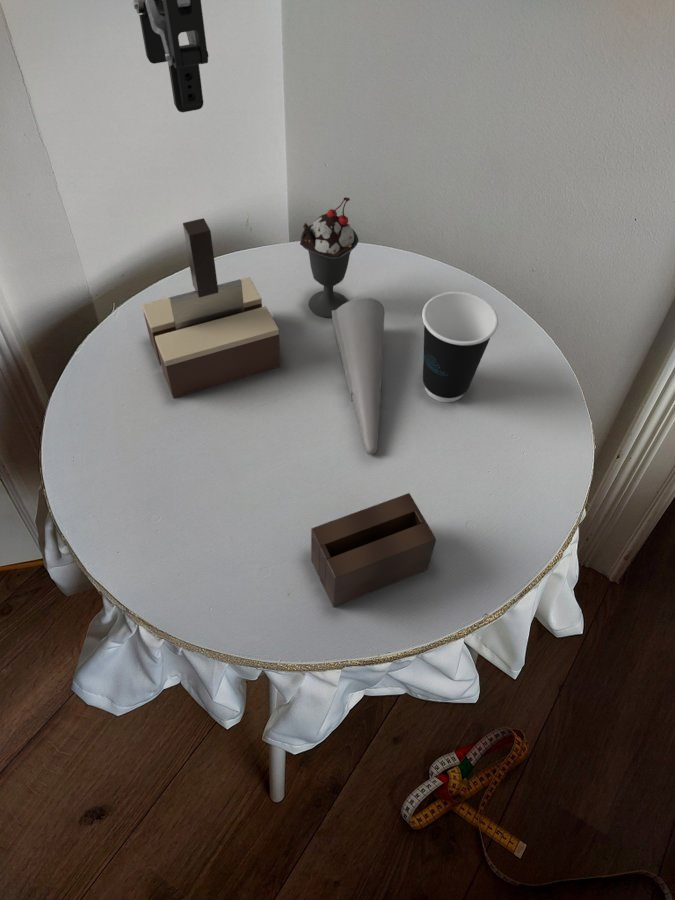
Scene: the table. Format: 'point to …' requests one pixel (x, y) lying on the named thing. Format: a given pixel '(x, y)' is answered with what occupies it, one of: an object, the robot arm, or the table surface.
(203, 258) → the knife
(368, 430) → the long tapered cone
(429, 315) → the dixie cup
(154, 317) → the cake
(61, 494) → the table surface
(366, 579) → the knife stand
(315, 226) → the sundae
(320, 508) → the table surface
